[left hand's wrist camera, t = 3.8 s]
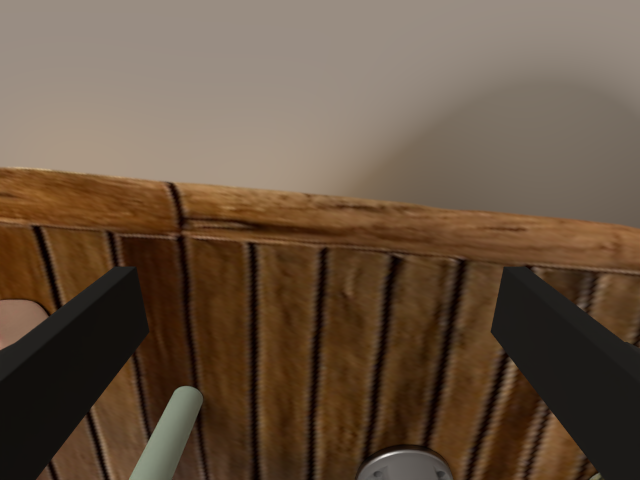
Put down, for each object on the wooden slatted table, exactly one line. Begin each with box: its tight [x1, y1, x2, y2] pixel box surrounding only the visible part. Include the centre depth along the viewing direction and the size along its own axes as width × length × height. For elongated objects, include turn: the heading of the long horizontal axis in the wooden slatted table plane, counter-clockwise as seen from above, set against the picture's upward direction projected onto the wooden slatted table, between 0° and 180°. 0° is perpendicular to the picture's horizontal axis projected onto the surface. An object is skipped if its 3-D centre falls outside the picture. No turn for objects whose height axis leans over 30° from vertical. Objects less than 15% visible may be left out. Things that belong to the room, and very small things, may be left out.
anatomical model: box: [0, 300, 49, 350], centre depth 45 cm, size 13×4×12 cm
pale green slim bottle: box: [129, 386, 203, 480], centre depth 42 cm, size 4×4×18 cm
